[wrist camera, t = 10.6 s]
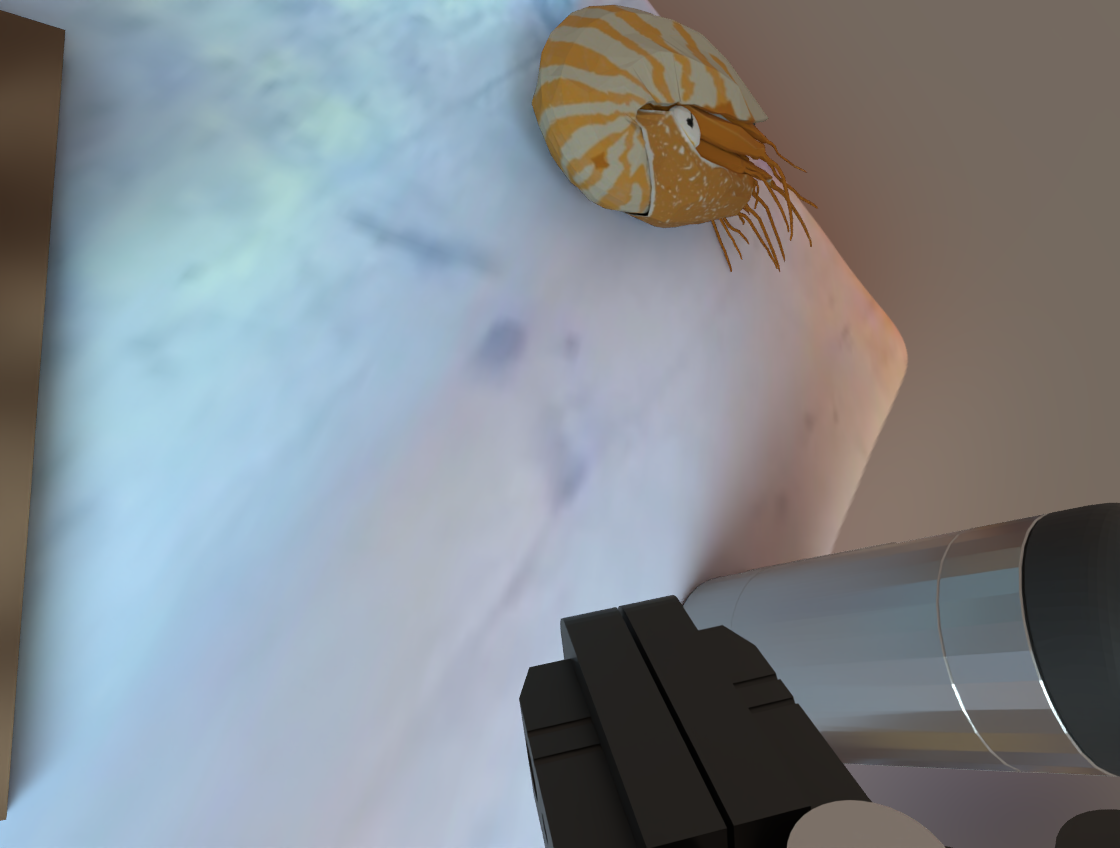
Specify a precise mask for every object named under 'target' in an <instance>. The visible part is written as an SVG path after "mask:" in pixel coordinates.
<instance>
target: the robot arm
mask: <svg viewBox="0 0 1120 848" xmlns="http://www.w3.org/2000/svg"><path fill="white" fill-rule="evenodd" d="M560 627H561V637H562V645H563V653H564V660H561V661H557V662H552V663H547V664H543V665H538V666H534V667H529V670H528V673H527V676H526V679H525V682H524V685H523V689H522V692H521V695H520V698H519V701H520V707H521V714H522V720H523V727H524V733H525V740H526V747H527V753H528V760H529V766H530V773H531V779H532V786H533V792H534V798H535V802H536V807H537V811H538V816H539V820H540V825H541V829H542V833H543V839H544V843H545V848H951V847H946V846H944V845H943V844H942V843H941V842H940V841H939V840H938V839H937V838H936V837H935V836H934V835H933V834H932V833H931V832H930V831H929V830H928V829H926V828H925V827H924V826H922V825H921V824H920V823H918V822H917V821H915V820H914V819H912V818H910V817H909V816H907V815H905V814H903V813H901V812H899V811H897V810H894V809H892V808H890V807H887V806H883V805H880V804H876V803H872V801H871V800H870V799H869V798H868V797H867V795H866V794H865V793H864V791H863V790H862V789H861V787H860V786H859V785H858V783H857V782H856V780H855V779H854V778H853V776H852V775H851V774H850V772H849V771H848V770H847V768H846V767H845V766H844V764H864V765H884V766H906V767H927V768H948V769H969V770H992V771H1011V772H1012V771H1013V772H1039V773H1059V774H1081V775H1100V776H1119V777H1120V503H1104V504H1096V505H1089V506H1083V507H1078V508H1073V509H1068V510H1063V511H1058V512H1053V513H1049V514H1043V515H1038V516H1033V517H1028V518H1022V519H1017V520H1012V521H1007V522H1002V523H996V524H991V525H986V526H981V527H976V528H971V529H967V530H962V531H957V532H952V533H947V534H942V535H936V536H931V537H926V538H921V539H916V540H910V541H905V542H900V543H896V542H891V543H886V544H881V545H876V546H871V547H865V548H860V549H855V550H850V551H845V552H840V553H834V554H829V555H824V556H819V557H814V558H809V559H804V560H799V561H793V562H788V563H783V564H778V565H773V566H768V567H763V568H757V569H752V570H748V571H747V572H744V573H739V574H734V575H729V576H724V577H719V578H714V579H710V580H708V581H706V582H705V583H703V584H701V585H699V586H698V587H697V588H696V589H695V590H694V591H693V592H692V593H691V594H690V595H689V597H688V599H687V601H686V602H685V604H684V606H682V604H681V603H680V601H679V600H678V598H677V597H676V596H674V595H670V596H666V597H661V598H656V599H651V600H647V601H642V602H637V603H632V604H628V605H623V606H619V607H618V609H617V608H616V607H614V608H610V609H605V610H600V611H595V612H591V613H586V614H581V615H576V616H572V617H567V618H562V619H561V621H560ZM1055 848H1120V810H1095V811H1089V812H1085V813H1082V814H1079V815H1077V816H1075V817H1073V818H1072V819H1070V820H1069V821H1067V822H1066V823H1065V824H1064V825H1063V827H1062V828H1061V829H1060V831H1059V833H1058V836H1057V838H1056V845H1055Z"/></svg>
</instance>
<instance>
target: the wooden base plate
mask: <svg viewBox="0 0 1120 848" xmlns="http://www.w3.org/2000/svg"><path fill="white" fill-rule="evenodd" d="M64 41H65V30H63V29H60V28H57V27H53V26H50V25H47V24H44V23H41V22H37V21H34V20H31V19H28V18H24V17H21V16H18V15H15V14H11V13H8V12H5V11H2V10H0V821H1V820H6V816H7V803H8V789H9V776H10V763H11V749H12V736H13V723H14V709H15V696H16V682H17V669H18V656H19V642H20V629H21V616H22V602H23V589H24V576H25V562H26V549H27V535H28V522H29V509H30V495H31V482H32V469H33V455H34V442H35V428H36V415H37V402H38V388H39V375H40V362H41V348H42V335H43V321H44V308H45V295H46V281H47V268H48V255H49V241H50V228H51V214H52V201H53V188H54V174H55V161H56V148H57V134H58V121H59V107H60V94H61V81H62V67H63V54H64Z"/></svg>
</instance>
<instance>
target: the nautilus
mask: <svg viewBox="0 0 1120 848" xmlns="http://www.w3.org/2000/svg"><path fill="white" fill-rule="evenodd" d="M532 106H533V109H534V112H535V115H536V118H537V121H538V124H539V127H540V129H541V132H542V134H543V137H544V139H545V141H546V144H547V146H548V149H549V151H550V153H551V156H552V157H553V159H554V160H555V162H556V163H557V164H558V166H559V167H560V169H561V170H562V171H563V173H564V174H565V175H566V177H567V178H568V179H569V180H570V182H571V183H572V184H574V185H575V186H576V187H578V188H579V189H580V190H581V191H582V193H583V194H584V195H585V196H586V197H587V198H588V199H589V200H590V201H592V202H594V203H596V204H598V205H600V206H602V207H603V208H606V209H611V210H617V211H622V212H624V213H626V214H628V215H631V216H633V217H635V218H637V219H640V220H642V221H644V222H646V223H648V224H651V225H653V226H656V227H662V228H669V227H679V226H684V225H689V224H700V223H704V222H708V221H711V222H712V224H713V227H714V229H715V232H716V235H717V237H718V240H719V243H720V245H721V247H722V249H723V251H724V254H725V257H726V260H727V262H728V265H729V267H730V271H731V272H732V268H731V264H730V261H729V259H728V256H727V253H726V250H725V248H724V246H723V243H722V241H721V238H720V235H719V232H718V230H717V227H716V224H715V221H714V220H716V219H719V220H720V222H721V223H722V225H723V227H724V229H725V230H726V232H727V234H728V235H729V237H730V238H731V240H732V241H733V244H734V246H735V248H736V250H737V251H738V253H739V255H740V258H741V260H742V256H741V253H740V251H739V249H738V247H737V245H736V243H735V240H734V239H733V237H732V236H731V234H730V232H729V231H728V229H727V227H726V225H727V226H728V227H729V228H730V229H731V230H733V231H735V232H738V233H739V234H740V235H741V236H742V237H743V238H744V240H745V241H746V242H747V243H748V244H749V242H748V240H747V238H746V237H745V236H744V235H743V234H742V233H741V231H740V230H738V229H735V228H733V227H732V226H731V225H730V224H729V222H728V221H727V219H726V217H731V216H736V215H738V216H739V218H740V220H741V221H742V222H743V225H744V223H745V221H744V219H743V218H742V217H744V218H745V219H746V220H747V221H748V222H749V224H750V226H751V227H752V229H753V230H754V232H755V234H756V235H757V237H758V238H759V240H760V242H761V243H762V245H763V246H764V247H765V249H766V250H767V252H768V254H769V256H770V258H771V259H772V261H773V262H774V264H775V266H776V269H779V272H780V267H779V263H778V260H777V257H776V254H775V251H774V249H773V247H772V244H771V242H770V239H769V237H768V234H767V232H766V229H765V227H764V225H763V222H762V220H761V218H760V217H759V216H758V215H757V213H756V212H755V211H754V210H752V209H751V208H750V207H749V205H748V204H747V202H748V201H749V200H750V198H751V195H753V197H754V198H755V199H756V202H755V207H754V209H756V206H757V204H758V201H759V202H760V203H761V204H762V205H763V206H764V208H765V209H766V212H767V214H768V217H769V220H770V222H771V225H772V228H773V230H774V233H775V236H776V239H777V241H778V244H779V247H780V250H781V253H782V256H783V259H784V261H785V255H784V252H783V248H782V245H781V241H780V238H779V236H778V233H777V230H776V227H775V225H774V222H773V219H772V216H771V213H770V211H769V208H768V206H767V205H766V204H765V202H764V201H763V200H762V199H761V198H760V197H759V196H758V194H759V186H758V182H757V180H755V179H754V178H756V179H759V180H762V181H763V182H764V183H765V185H766V187H767V188H768V190H769V192H770V193H771V195H772V197H773V198H774V200H775V202H776V203H777V205H778V207H779V209H780V211H781V213H782V215H783V218H784V220H785V223H786V225H787V229H788V232H789V225H788V222H787V219H786V216H785V213H784V211H783V209H782V207H781V205H780V203H779V201H778V199H777V197H776V195H775V194H774V192H773V190H776V191H777V192H779V193H780V194H781V195H782V196H783V197H784V198H785V200H786V201H787V205H788V209H789V216H790V229H791V236H790V241H791V239H792V236H793V216H792V210H793V212H794V213H795V215H796V216H797V218H798V219H799V221H800V222H801V224H802V226H803V228H804V230H805V232H806V235H807V237H808V239H809V241H810V247H812V241H811V239H810V236H809V233H808V231H807V228H806V226H805V224H804V222H803V220H802V218H801V217H800V215H799V213H798V212H797V210H796V209H795V207H794V205H793V204H792V202H791V201H790V198H789V193H788V189H787V188H789V189H790V190H791V191H793V192H794V193H795V194H796V195H797V197H798V198H799V199H801V200H803V201H805V202H807V203H808V204H810V205H812V206H814V207H815V208H818V207H817V206H816V205H815V204H814V203H812V202H810V201H808V200H806V199H805V198H803V197H801V196H800V195H799V194H798V193H797V191H796V190H795V189H794V188H792V187H791V186H790V185H788V184H787V183H786V180H785V176H784V174H783V172H782V170H781V169H780V167H779V166H778V164H777V163H775V162H774V161H773V160H771V159H770V158H769V157H768V156H767V154H766V152H765V145H764V144H762V143H767V144H769V145H771V146H772V147H773V148H774V149H775V151H776V153H777V154H778V155H779V156H780V157H781V158H782V159H784V160H785V161H786V162H788V163H789V164H791V165H792V166H793V167H795V168H797V169H799V170H802V171H804V172H806V171H805V170H803V169H801V168H799V167H797V166H795V165H794V164H792V163H791V162H790V161H788V160H787V159H786V158H784V157H783V156H781V155H780V154H779V153H778V151H777V149H776V146H775V145H774V144H773V143H772V142H771V141H769V140H768V139H767V138H766V136H764V135H763V134H762V133H761V132H760V131H759V130H758V129H757V128H756V127H755V123H758V122H763V121H766V120H767V119H768V117H767V116H766V114H765V113H764V111H763V110H762V109H761V107H760V106H759V104H758V103H757V101H756V100H755V99H754V97H753V96H752V94H751V93H750V91H749V90H748V88H747V87H746V86H745V84H744V83H743V81H742V80H741V78H740V77H739V76H738V74H737V73H736V71H735V70H734V69H733V67H732V66H731V64H730V63H729V61H728V60H727V59H726V58H725V57H724V56H723V55H722V54H721V53H720V52H719V51H718V50H717V49H716V48H715V47H714V46H713V45H712V44H711V43H710V42H709V41H708V40H707V39H706V38H705V37H704V36H703V35H702V34H701V33H699V32H697V31H695V30H693V29H691V28H688V27H686V26H684V25H682V24H680V23H678V22H676V21H674V20H672V19H667V18H663V17H658V16H655V15H653V14H651V13H648V12H644V11H641V10H637V9H634V8H628V7H623V6H617V5H606V6H589V7H586V8H583V9H580V10H578V11H575V12H572V13H571V14H570V15H569V16H568V17H567V18H566V19H565V20H564V21H563V22H562V23H561V24H560V25H559V26H557V27H556V28H555V29H554V30H553V31H552V32H551V34H550V36H549V38H548V40H547V42H546V44H545V47H544V49H543V51H542V54H541V61H540V68H539V75H538V82H537V87H536V90H535V93H534V96H533V100H532ZM755 139H756V140H758V141H760V142H761V143H760V142H758V141H756V140H755ZM746 155H747V156H750V157H751V158H753V159H755V160H758V159H761V160H763V161H765V162H766V163H767V164H768V165H769V166H770V168H771V169H772V171H773V174H774V176H775V177H776V178H777V179H778V180H779V181H780V182H781V183H782V184H783V187H784V190H782V189H781V188H779V187H778V186H776V184H775V182H774V181H773V180H772V176H770V175H769V174H768V173H767V172H766V171H765V170H763V169H761V168H759V167H757V166H756V165H754V163H752V162H750V161H749V158H748V157H747V156H746ZM774 167H775V168H776V169H777V170H778V172H779V174H780V176H781V178H782V179H781V178H780V177H779V176H778V175H777V173H776V171H775V168H774ZM751 176H752V177H751ZM753 177H754V178H753ZM756 186H757V193H756V192H755V187H756ZM771 188H772V189H773V190H772V189H771ZM784 192H785V193H784ZM744 207H745V208H744ZM742 209H744V210H745V211H746V212H748V211H749V212H750V213H752V214H753V215H754V216H755V217H756V218H757V219H758V221H759V223H760V226H761V228H762V230H763V233H764V235H765V237H766V240H767V242H768V244H769V247H770V249H771V252H772V254H773V257H774V258H773V257H772V255H771V253H770V251H769V249H768V247H767V246H766V245H765V243H764V242H763V240H762V238H761V237H760V235H759V233H758V231H757V230H756V228H755V226H754V225H753V223H752V221H751V220H750V219H749V218H748V216H747V215H746V214H743V213H741V212H740V211H741V210H742ZM749 212H748V214H749ZM749 215H750V214H749ZM722 219H723V220H724V221H723V220H722ZM724 222H725V223H726V225H725V223H724ZM774 259H775V260H774ZM777 267H778V268H777Z"/></svg>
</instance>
